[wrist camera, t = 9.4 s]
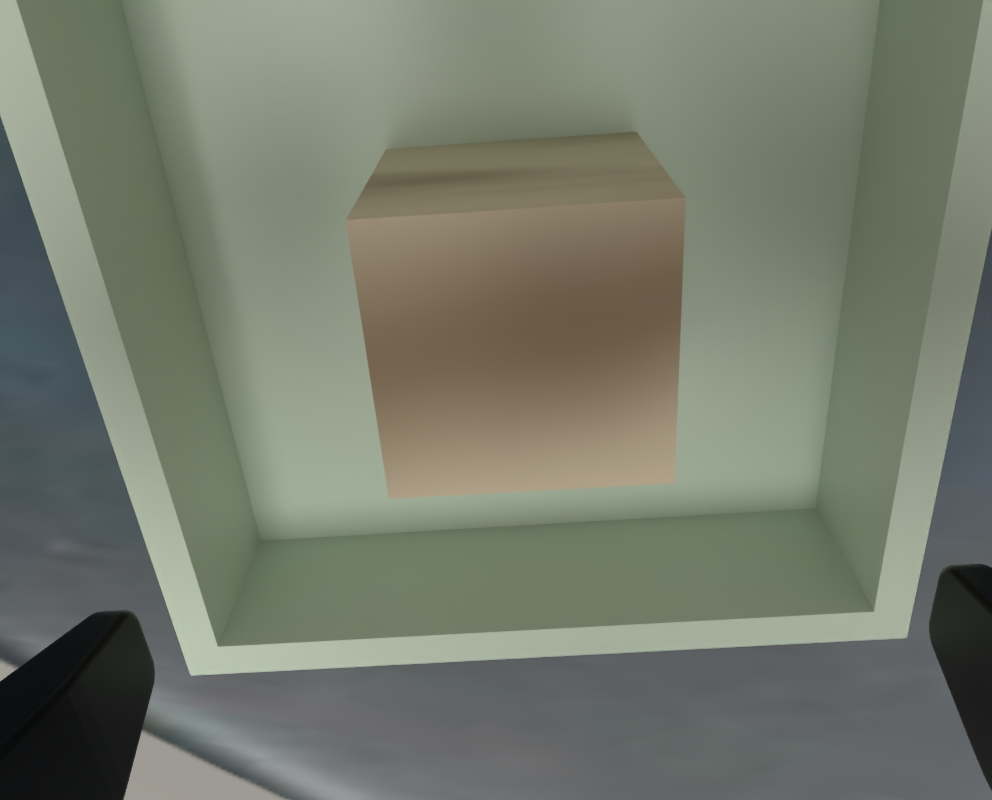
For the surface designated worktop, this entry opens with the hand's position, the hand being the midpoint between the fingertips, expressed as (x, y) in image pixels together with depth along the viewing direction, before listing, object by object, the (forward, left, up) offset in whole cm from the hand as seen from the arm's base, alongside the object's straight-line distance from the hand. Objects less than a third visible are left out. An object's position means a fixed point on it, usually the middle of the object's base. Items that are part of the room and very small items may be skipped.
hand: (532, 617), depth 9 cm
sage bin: (+1, -1, -11) cm, 11 cm away
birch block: (+1, -1, -10) cm, 10 cm away
